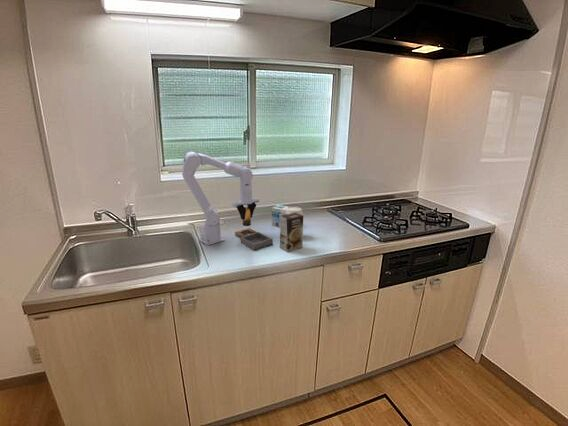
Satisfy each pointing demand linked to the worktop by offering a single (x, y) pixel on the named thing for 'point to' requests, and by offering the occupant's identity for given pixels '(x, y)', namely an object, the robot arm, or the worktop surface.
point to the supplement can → (294, 210)
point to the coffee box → (291, 231)
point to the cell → (247, 217)
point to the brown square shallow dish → (244, 232)
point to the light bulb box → (278, 214)
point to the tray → (256, 241)
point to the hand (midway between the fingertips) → (246, 218)
